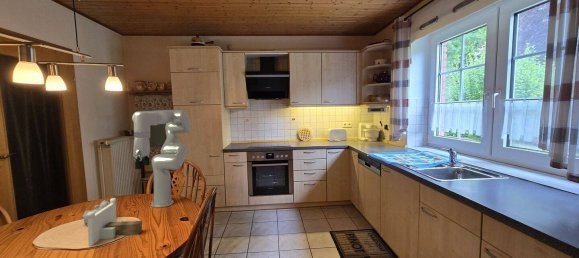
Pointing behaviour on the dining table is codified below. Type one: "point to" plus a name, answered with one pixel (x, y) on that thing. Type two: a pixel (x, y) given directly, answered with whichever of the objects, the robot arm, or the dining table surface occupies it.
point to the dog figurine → (101, 206)
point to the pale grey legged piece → (102, 223)
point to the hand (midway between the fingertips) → (142, 166)
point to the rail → (126, 227)
